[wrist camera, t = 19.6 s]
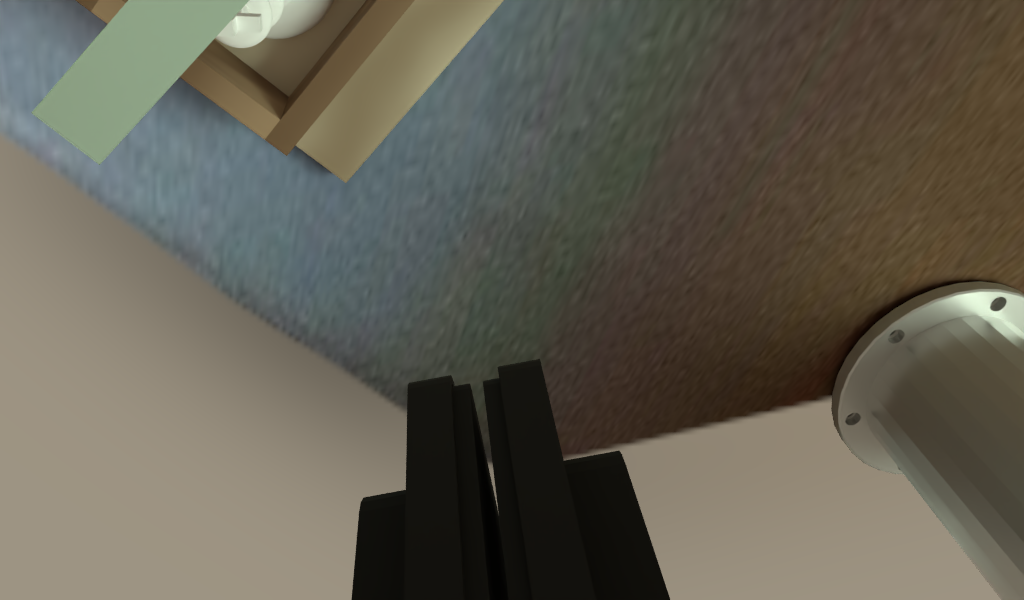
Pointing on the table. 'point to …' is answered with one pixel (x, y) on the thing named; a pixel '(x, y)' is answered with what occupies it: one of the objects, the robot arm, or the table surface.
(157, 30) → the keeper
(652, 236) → the table surface
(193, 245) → the table surface
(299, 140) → the pintle board
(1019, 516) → the robot arm
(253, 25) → the chess piece
